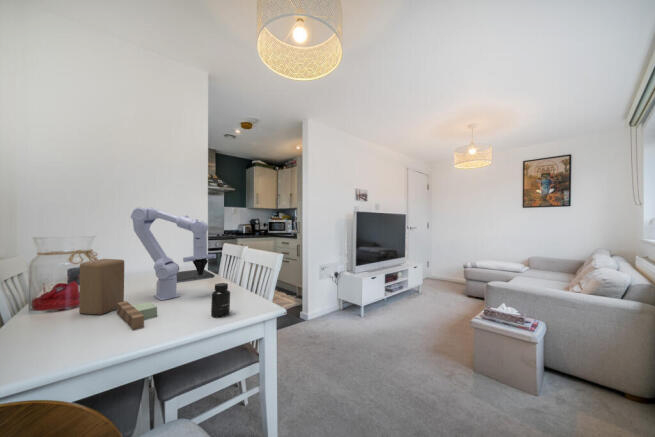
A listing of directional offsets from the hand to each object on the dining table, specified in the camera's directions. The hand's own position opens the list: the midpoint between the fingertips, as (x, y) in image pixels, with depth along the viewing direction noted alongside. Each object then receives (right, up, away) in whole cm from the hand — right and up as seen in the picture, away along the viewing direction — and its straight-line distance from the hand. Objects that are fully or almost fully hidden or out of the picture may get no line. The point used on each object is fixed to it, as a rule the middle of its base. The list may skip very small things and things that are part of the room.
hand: (200, 274), depth 119 cm
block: (-30, -10, -19) cm, 37 cm away
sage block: (-9, -11, -24) cm, 28 cm away
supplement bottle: (+19, -11, -21) cm, 30 cm away
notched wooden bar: (-12, -10, -27) cm, 32 cm away
